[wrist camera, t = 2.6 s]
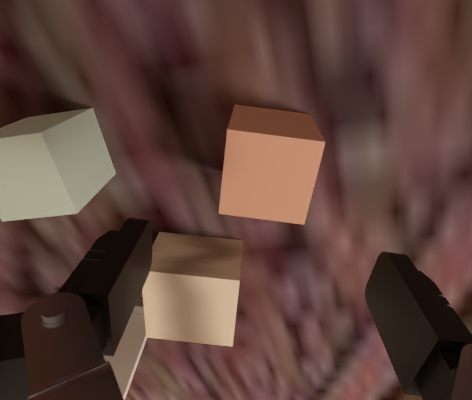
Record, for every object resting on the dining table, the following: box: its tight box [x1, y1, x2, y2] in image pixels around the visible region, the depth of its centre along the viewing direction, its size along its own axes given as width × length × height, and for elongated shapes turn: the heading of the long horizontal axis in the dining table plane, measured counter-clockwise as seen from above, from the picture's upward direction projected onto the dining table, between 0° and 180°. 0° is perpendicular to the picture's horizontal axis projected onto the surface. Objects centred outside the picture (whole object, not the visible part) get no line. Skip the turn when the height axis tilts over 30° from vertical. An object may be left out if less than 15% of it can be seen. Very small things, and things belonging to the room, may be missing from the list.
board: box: [103, 298, 147, 400], centre depth 27 cm, size 9×3×9 cm, turn 83°
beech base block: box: [142, 232, 243, 347], centre depth 26 cm, size 7×7×5 cm
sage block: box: [0, 108, 116, 222], centre depth 21 cm, size 5×5×6 cm
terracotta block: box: [219, 104, 325, 225], centre depth 20 cm, size 5×5×6 cm
